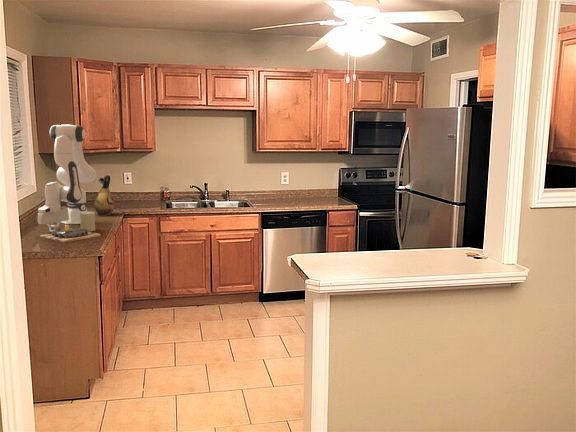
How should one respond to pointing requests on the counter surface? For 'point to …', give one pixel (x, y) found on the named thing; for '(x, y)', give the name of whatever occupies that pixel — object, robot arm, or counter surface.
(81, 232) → the sprocket
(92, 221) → the can
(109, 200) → the ceramic jug
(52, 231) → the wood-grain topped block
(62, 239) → the plate
